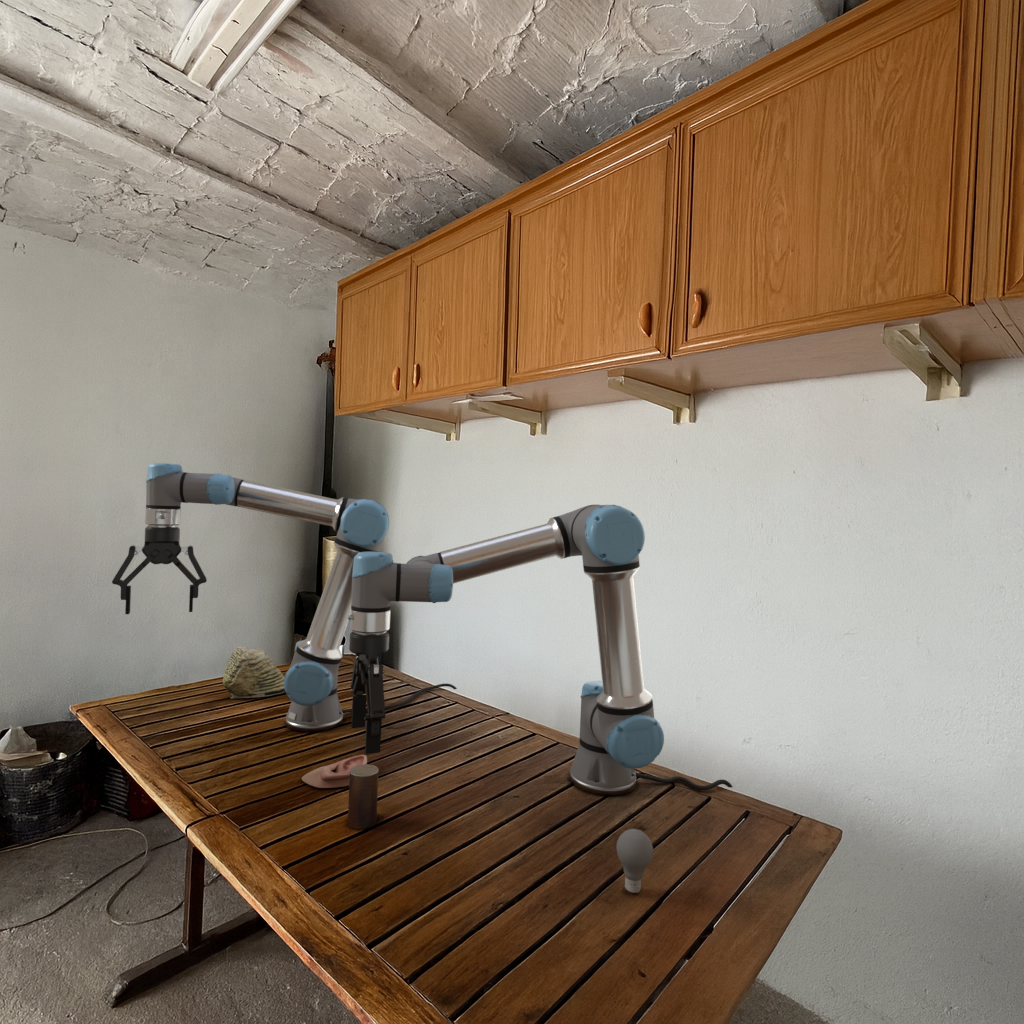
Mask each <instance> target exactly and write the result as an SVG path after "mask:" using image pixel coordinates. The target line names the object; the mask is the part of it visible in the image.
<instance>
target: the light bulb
mask: <svg viewBox="0 0 1024 1024" xmlns="http://www.w3.org/2000/svg"><path fill="white" fill-rule="evenodd" d="M615 849H616V854H617V857H618V859H619V861H620V863H621V865H622V867H623V873H624V874H623V875H624V876H625V878H624V888H625V890H627V891H628V892H630V893H634V894H635V893H639V892H640V891H641V889H642V887H641V886H642V879H643V877H644V875H645V871H646V868H647V867H648V866H649V864H650V863H651V861H652V859H653V855H654V847H653V843H652V841H651V838H649V836H648V835H647V834H646V833H645V832H643V831H642V830H641V829H636V828H629V829H627V830H625V831H623V832H622V833H621V834H620V835H619V837H618V839H617V841H616V847H615Z"/></svg>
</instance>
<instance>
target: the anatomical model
mask: <svg viewBox="0 0 1024 1024" xmlns="http://www.w3.org/2000/svg"><path fill="white" fill-rule="evenodd" d="M362 764H368V757H367V754H359V755H354V756H351V757H347V758H345V759H342V760H340V761H337V762H334V763H331V764H328V765H325V766H324V765H323V766H321V767H318V768H315V769H313V770H311V771H309V772H307V773H306V774H304V775H302V777H301V781H302V782H303V783H305V784H307V785H308V786H311V787H314V788H317V789H332V788H343V787H347V786H348V787H349V778H350V769H351V768H352V767H354V766H357V765H362Z"/></svg>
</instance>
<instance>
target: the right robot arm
mask: <svg viewBox="0 0 1024 1024" xmlns="http://www.w3.org/2000/svg"><path fill="white" fill-rule="evenodd" d="M645 540H646V534H645V529H644V525H643V523H642V522H641V520H640V518H639V517H638V515H636V514H635V513H634V512H633V511H632V510H630V509H628V508H626V507H623V506H621V505H616V504H589V505H585V506H582V507H580V508H576V509H574V510H572V511H569V512H566V513H563V514H560V515H557V516H556V515H555V516H554V517H550V518H549V519H548V520H547V523H544V524H540V525H536V526H533V527H529V528H526V529H521V530H518V531H514V532H510V533H507V534H503V535H499V536H495V537H491V538H488V539H484V540H480V541H475V542H473V543H468V544H465V545H461V546H457V547H454V548H450V549H446V550H442V551H440V552H435V553H431V554H427V555H417V556H414V557H412V558H410V559H409V560H408V561H406V563H400V562H394V559H393V558H394V557H393V555H392V553H390V552H385V551H379V552H360V553H358V554H357V555H356V556H355V557H354V563H353V574H352V597H351V612H352V613H351V615H348V619H349V621H350V626H349V627H350V630H351V632H350V634H349V644H348V650H349V651H350V653H352V654H354V663H353V669H352V675H351V682H350V689H351V690H352V691H351V694H352V699H351V700H352V702H351V703H352V704H351V709H352V712H351V722H350V723H351V725H350V726H351V727H350V728H351V729H361V728H365V740H364V741H365V742H364V755H370V754H378V753H379V754H380V753H381V744H382V725H383V724H382V722H383V721H382V720H383V719H385V718H386V709H385V706H386V705H385V692H384V691H385V690H384V689H385V688H384V663H381V661H379V655H382V654H385V653H387V652H388V651H389V649H390V633H389V632H388V631H389V630H391V610H392V609H391V602H395V603H396V602H397V603H399V602H407V603H409V602H410V603H432V604H436V603H447V602H449V601H451V599H452V597H453V593H454V592H453V591H454V584H457V583H461V582H464V581H468V580H473V579H476V578H480V577H483V576H487V575H492V574H494V573H498V572H502V571H505V570H509V569H513V568H516V567H520V566H525V565H527V564H531V563H535V562H538V561H543V560H546V559H550V558H554V557H557V558H559V559H560V560H563V559H567V558H571V557H579V556H580V557H581V556H582V557H581V558H582V567H583V573H584V574H585V575H586V576H587V577H588V578H590V580H591V584H592V585H591V586H592V595H593V605H594V614H595V623H596V624H595V625H596V635H597V643H598V654H599V655H598V656H599V663H600V664H599V666H600V675H601V680H589V681H586V682H585V683H584V684H583V685H582V688H581V695H580V716H579V717H580V721H579V743H578V748H577V750H576V752H575V754H574V758H573V762H572V764H571V767H570V769H569V780H570V782H571V783H572V784H573V785H574V786H575V787H576V788H578V789H580V790H581V791H584V792H587V793H590V794H595V795H600V796H622V795H625V794H629V793H630V792H632V791H634V790H635V789H636V787H637V779H641V780H642V779H643V780H648V781H653V782H657V783H660V784H661V783H662V784H671V783H673V782H682V783H684V784H686V785H688V786H689V787H691V788H692V789H695V790H698V791H710V790H712V789H714V788H717V787H719V786H720V785H725V786H726V787H727V788H733V787H734V786H733V785H732V783H730V782H729V780H726V779H717V780H715V781H712V782H711V783H709V784H706V785H700V784H696V783H695V782H693V781H692V780H690V779H688V778H687V777H684V776H679V775H675V776H672V777H668V778H663V777H659V776H654V775H650V774H645V773H639V772H636V769H641V768H645V767H647V766H649V765H650V764H652V763H653V762H654V761H655V760H656V758H657V757H658V756H659V755H660V753H662V750H663V747H664V744H665V734H664V730H663V727H662V726H661V724H660V722H659V721H658V720H657V719H656V718H655V709H654V701H653V695H652V693H651V692H650V691H648V690H647V689H646V688H645V684H644V683H645V682H644V675H643V673H644V672H643V662H642V652H641V643H640V631H639V623H638V622H639V621H638V613H637V612H638V611H637V601H636V592H635V591H636V590H635V580H634V576H635V575H636V573H637V572H638V571H639V570H640V568H641V565H640V553H641V552H642V550H643V549H644V547H645ZM366 708H367V710H368V711H366Z"/></svg>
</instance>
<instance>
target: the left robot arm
mask: <svg viewBox="0 0 1024 1024" xmlns="http://www.w3.org/2000/svg"><path fill="white" fill-rule="evenodd" d="M145 484H146V486H145V488H146V489H145V515H144V516H145V519H144V523H145V525H147V526H146V527H145V528H144V544H143V546H138V545H134V544H132V545H130V546H129V547H128V554H127V556H126V557H125V559H124V561H123V562H122V564H121V566H120V568H118V571H117V572H116V574H115V576H113V579H112V581H111V583H112V585H116V586H119V587H120V601H125V609H124V613H125V615H130V614H131V599H132V596H131V595H132V585H129V583H131V582H132V581H133V579H135V577H137V576H138V574H140V573H141V572H142V571H143V570H144V569H145V568H146V567H147V566H148V565H149V564H150V563H151V564H153V565H161V564H162V565H170V564H172V563H173V565H174V566H175V567H176V568H178V569H179V571H180V572H181V573H182V574H183V575H184V577H185V578H186V579H188V580H189V581H190V583H191V584H189V601H188V603H189V604H188V612H189V613H193V611H194V608H193V607H194V599H198V598H199V587H200V585H201V584H205V583H207V582H208V581H207V577H206V575H205V573H204V571H203V569H202V567H201V565H200V563H199V561H198V559H197V558H196V556H195V554H194V546H193V545H188V546H181V544H180V542H181V541H180V539H181V537H180V536H181V528H180V527H178V526H180V525H181V510H182V509H181V507H182V506H181V505H182V503H184V504H189V503H190V504H205V505H216V506H217V505H218V506H219V505H227V506H231V507H237V508H243V509H247V510H252V511H256V512H260V513H261V512H262V513H266V514H271V515H275V516H281V517H284V518H290V519H295V520H300V521H303V522H304V521H305V522H309V523H315V524H319V525H323V526H328V527H332V529H333V531H334V532H336V536H335V539H334V542H333V544H334V546H335V549H336V554H335V557H334V559H333V562H332V565H331V568H330V571H329V574H328V577H327V579H326V583H325V585H324V588H323V591H322V594H321V597H320V599H319V602H318V605H317V608H316V610H315V613H314V616H313V619H312V622H311V625H310V628H309V630H308V633H307V636H306V638H305V639H303V640H299V641H297V642H296V643H295V648H294V653H293V657H292V660H291V662H290V666H289V668H288V670H287V671H286V673H285V675H284V677H285V678H284V688H285V691H284V693H285V694H286V695H287V697H288V698H289V700H290V701H291V702H290V704H289V708H288V711H287V713H286V715H285V726H286V728H287V729H289V730H291V731H294V732H295V731H296V732H301V733H316V732H325V731H329V730H332V729H335V728H337V727H339V726H340V725H342V723H343V722H344V714H346V713H347V714H348V713H352V708H349V709H346V708H345V709H342V706H341V702H340V699H339V695H338V682H339V681H338V680H339V679H338V677H339V668H340V665H341V662H342V659H343V653H342V652H341V649H340V647H341V644H342V641H343V638H344V635H345V633H346V630H347V627H348V625H349V621H350V620H349V619H348V615H352V612H351V597H352V574H353V563H354V557H355V556H356V555H357V554H358V553H360V552H381V548H382V546H383V542H384V540H385V537H386V536H387V533H388V531H389V528H390V516H389V513H388V512H387V509H386V508H385V507H384V505H382V504H381V503H380V502H379V501H376V500H374V499H371V498H370V499H369V498H362V499H361V498H360V499H359V498H357V499H356V498H349V497H345V496H342V497H340V498H338V499H337V498H332V497H327V496H322V495H318V494H314V493H313V494H312V493H308V492H305V491H299V490H295V489H290V488H285V487H280V486H276V485H270V484H267V483H261V482H257V481H252V480H247V479H243V478H242V479H241V478H236V477H233V476H231V475H230V474H225V473H224V474H223V473H206V472H205V473H204V472H203V473H201V472H186V471H184V470H183V467H182V465H181V464H178V463H164V462H152V463H150V464H149V465H148V466H147V473H146V481H145ZM140 552H141V553H142V554H143V555H144V556H145V557H146V558H144V559H143V561H142V562H140V564H138V565H137V567H136V568H135V569H133V571H132V572H131V573H130V574H128V575H127V576H126V577H125V578H124V579H122V577H123V576H124V574H125V572H126V571H127V569H128V568H129V566H130V564H131V562H132V561H133V559H134V557H135V556H138V555H139V553H140ZM181 552H182V553H184V555H185V556H187V557H188V560H189V561H190V563H191V565H192V566H193V568H194V571H195V572H196V574H197V576H198V578H196V577H195V575H194V574H193V573H192V572H191V571H190V570H189V569H188V568H187V567H186V566H185V565H184V564H183V563H182V561H181V560H180V559H179V558H178V556H179V555H180V554H181ZM432 686H433V687H432ZM432 686H428V687H424V688H422V689H421V688H420V689H419V690H418V691H417V692H415V693H413V694H412V695H411V696H410V697H408V698H407V699H405V700H402V701H400V702H397V703H393V704H388V705H385V710H387V709H393V708H398V707H400V706H401V707H402V706H403V705H406V704H408V703H409V702H410V701H412V700H413V699H414V698H415V697H417V696H419V695H420V694H422V693H424V692H427V691H430V690H435V689H439V688H442V687H448V688H452V689H453V690H457V689H458V688H457V687H456V686H455V685H453V684H451V683H439V684H436V685H432ZM366 712H368V710H367V707H366Z"/></svg>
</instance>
